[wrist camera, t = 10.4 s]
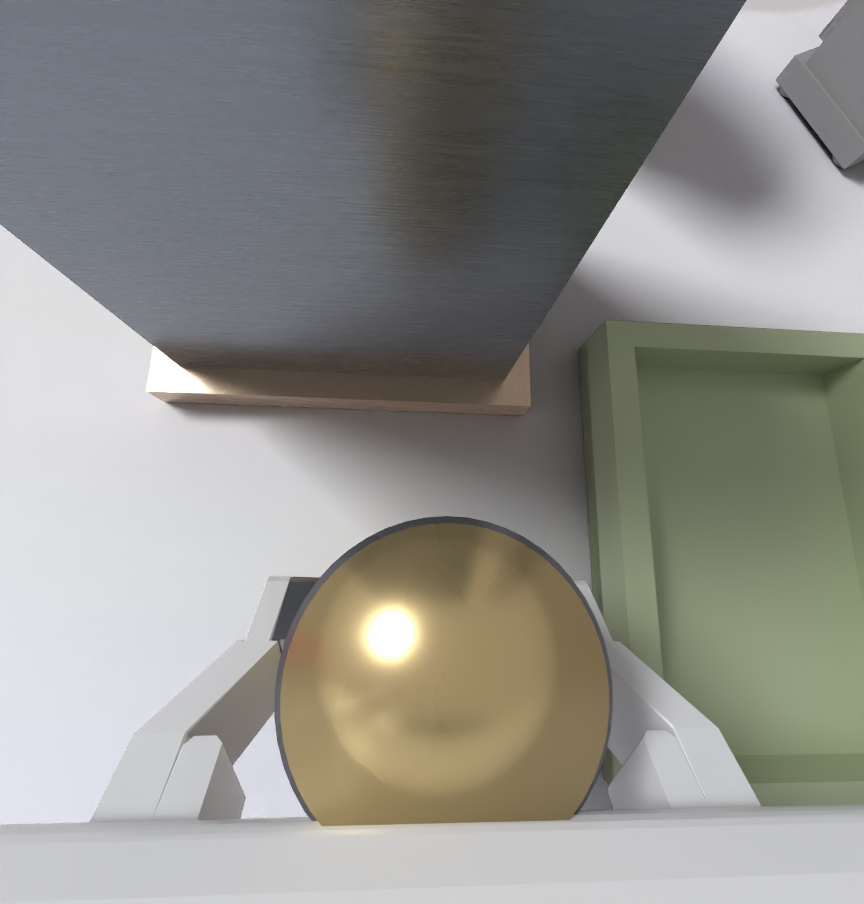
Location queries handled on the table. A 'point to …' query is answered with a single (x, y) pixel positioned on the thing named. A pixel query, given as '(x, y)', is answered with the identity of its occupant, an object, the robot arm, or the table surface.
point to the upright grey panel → (833, 85)
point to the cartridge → (443, 682)
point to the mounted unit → (334, 178)
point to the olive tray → (736, 536)
